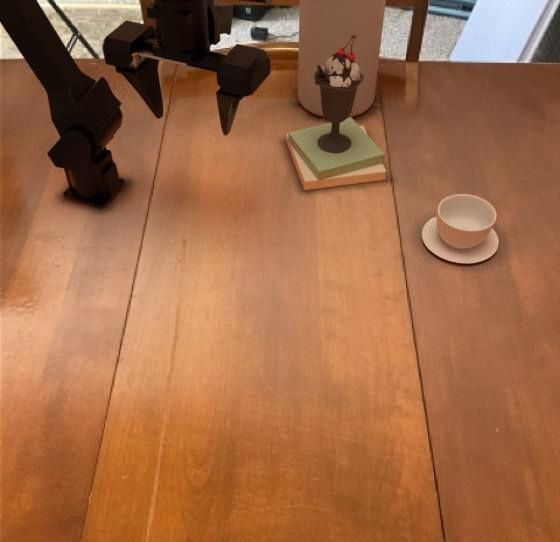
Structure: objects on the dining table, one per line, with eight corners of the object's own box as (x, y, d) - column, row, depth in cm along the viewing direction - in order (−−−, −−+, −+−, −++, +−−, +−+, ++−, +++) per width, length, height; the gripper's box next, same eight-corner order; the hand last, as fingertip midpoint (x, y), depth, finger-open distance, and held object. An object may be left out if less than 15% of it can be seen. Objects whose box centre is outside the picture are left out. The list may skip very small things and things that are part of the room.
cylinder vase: (365, 126, 106) (384, -51, 87) (288, 113, 108) (290, -62, 89) (380, 86, 114) (401, -85, 94) (308, 75, 116) (314, -95, 96)
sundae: (363, 135, 99) (374, 32, 88) (348, 160, 96) (358, 55, 84) (321, 126, 101) (326, 22, 89) (304, 150, 97) (308, 45, 85)
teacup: (490, 273, 86) (500, 245, 82) (413, 255, 88) (419, 226, 84) (503, 225, 92) (512, 197, 88) (430, 209, 94) (436, 180, 90)
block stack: (303, 191, 96) (304, 173, 94) (285, 142, 104) (285, 124, 101) (386, 180, 98) (389, 162, 95) (362, 133, 105) (364, 115, 103)
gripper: (290, -25, 73) (288, 108, 86) (140, -52, 78) (159, 78, 90) (246, 19, 67) (251, 156, 79) (86, -14, 71) (114, 121, 84)
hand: (193, 125), depth 83 cm, fingers open, 9 cm apart
